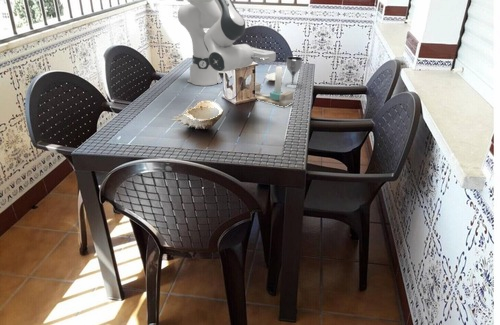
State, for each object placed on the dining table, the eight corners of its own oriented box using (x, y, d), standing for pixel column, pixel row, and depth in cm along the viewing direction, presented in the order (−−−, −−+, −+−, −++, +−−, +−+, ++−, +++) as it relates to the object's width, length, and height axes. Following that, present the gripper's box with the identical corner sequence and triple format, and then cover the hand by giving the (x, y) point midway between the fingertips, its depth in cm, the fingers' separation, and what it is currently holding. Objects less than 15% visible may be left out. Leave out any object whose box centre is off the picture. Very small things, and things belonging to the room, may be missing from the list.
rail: (246, 97, 197) (246, 85, 194) (255, 94, 202) (255, 82, 199) (284, 108, 185) (285, 95, 182) (292, 104, 190) (293, 92, 187)
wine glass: (285, 88, 212) (287, 59, 205) (284, 84, 219) (286, 56, 212) (300, 88, 212) (303, 60, 205) (298, 84, 219) (301, 56, 212)
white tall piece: (269, 98, 189) (271, 67, 183) (275, 95, 193) (277, 65, 186) (278, 100, 187) (280, 69, 180) (284, 97, 190) (286, 67, 184)
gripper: (264, 51, 153) (284, 47, 163) (223, 43, 164) (245, 40, 174) (263, 68, 156) (283, 62, 166) (223, 59, 167) (244, 54, 177)
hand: (263, 51), depth 170 cm, fingers open, 8 cm apart
